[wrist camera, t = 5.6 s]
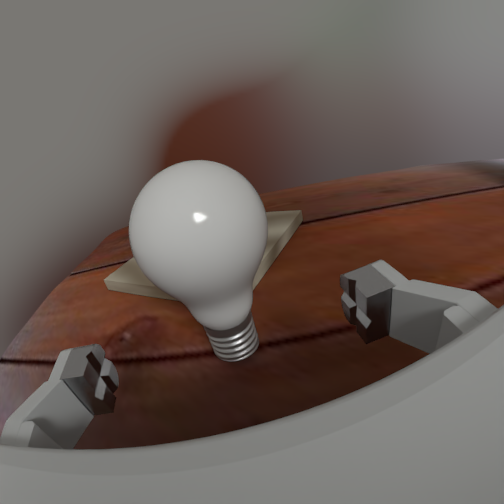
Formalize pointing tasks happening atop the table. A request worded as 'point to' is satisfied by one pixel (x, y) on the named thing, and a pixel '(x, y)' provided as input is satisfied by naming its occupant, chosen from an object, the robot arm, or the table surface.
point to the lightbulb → (204, 247)
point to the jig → (278, 235)
